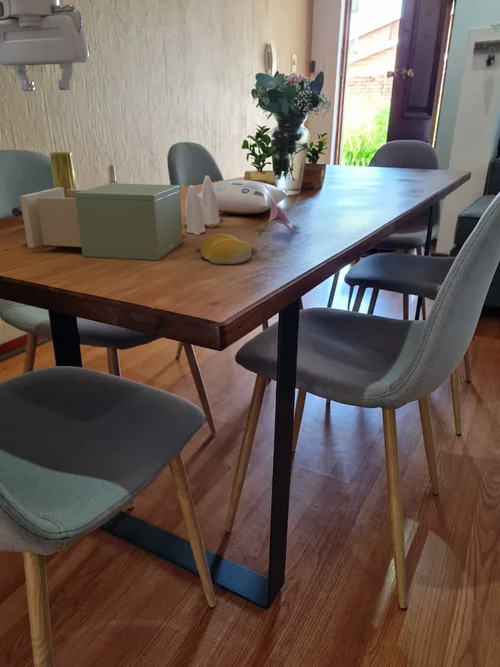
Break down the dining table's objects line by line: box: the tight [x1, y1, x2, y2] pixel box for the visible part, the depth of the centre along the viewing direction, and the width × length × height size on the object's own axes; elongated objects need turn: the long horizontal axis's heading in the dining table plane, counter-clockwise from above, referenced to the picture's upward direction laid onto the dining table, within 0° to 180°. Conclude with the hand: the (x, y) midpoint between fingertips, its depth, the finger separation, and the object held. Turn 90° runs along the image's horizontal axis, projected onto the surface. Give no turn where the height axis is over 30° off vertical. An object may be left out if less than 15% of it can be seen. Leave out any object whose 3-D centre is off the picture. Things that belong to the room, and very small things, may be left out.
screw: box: [107, 164, 118, 184], centre depth 112 cm, size 13×5×5 cm
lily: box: [257, 187, 297, 239], centre depth 103 cm, size 12×12×10 cm
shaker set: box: [184, 175, 221, 236], centre depth 109 cm, size 12×4×11 cm, turn 156°
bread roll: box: [199, 233, 252, 265], centre depth 87 cm, size 8×9×4 cm
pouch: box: [197, 179, 289, 215], centre depth 129 cm, size 8×19×20 cm
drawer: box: [11, 187, 84, 249], centre depth 94 cm, size 17×13×9 cm
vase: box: [49, 151, 78, 198], centre depth 128 cm, size 6×6×14 cm
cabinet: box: [75, 182, 183, 261], centre depth 91 cm, size 14×14×11 cm
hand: (46, 90), depth 99 cm, fingers open, 8 cm apart
